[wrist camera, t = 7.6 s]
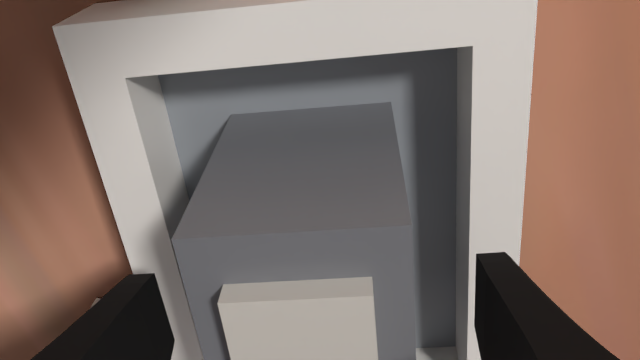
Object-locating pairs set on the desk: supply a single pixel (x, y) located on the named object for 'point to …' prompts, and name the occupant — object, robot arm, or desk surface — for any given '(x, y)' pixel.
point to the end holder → (314, 92)
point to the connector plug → (302, 239)
